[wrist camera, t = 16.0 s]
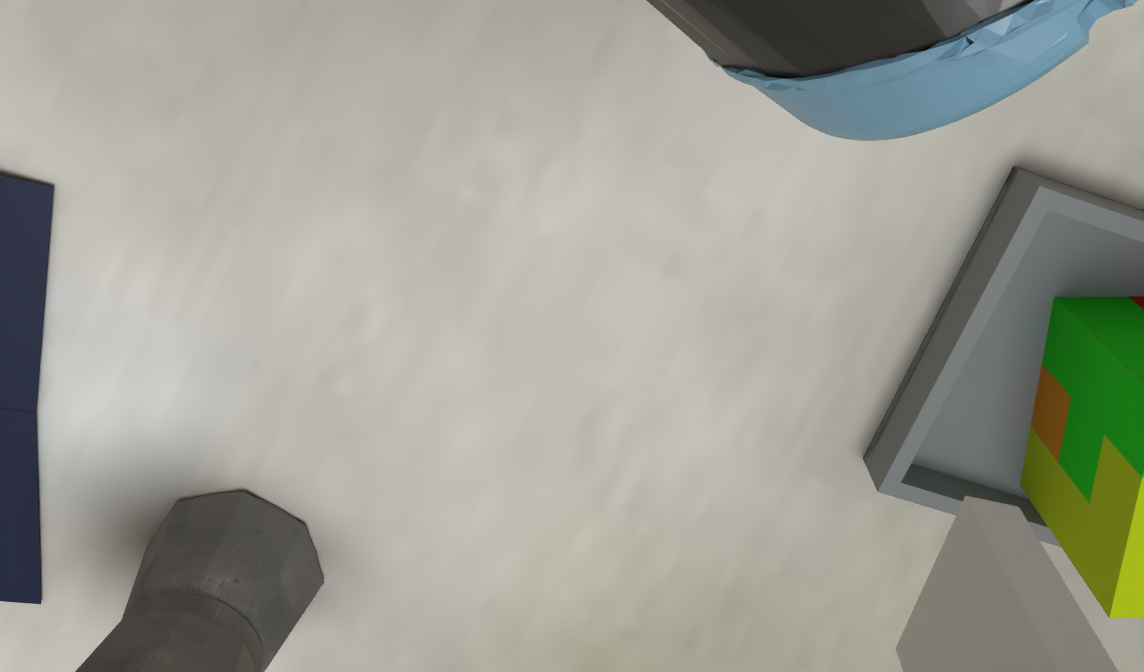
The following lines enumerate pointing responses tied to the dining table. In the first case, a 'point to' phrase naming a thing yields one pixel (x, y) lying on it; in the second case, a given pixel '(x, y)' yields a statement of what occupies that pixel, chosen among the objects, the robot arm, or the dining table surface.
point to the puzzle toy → (1093, 445)
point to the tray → (1000, 345)
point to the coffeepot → (214, 590)
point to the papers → (21, 380)
